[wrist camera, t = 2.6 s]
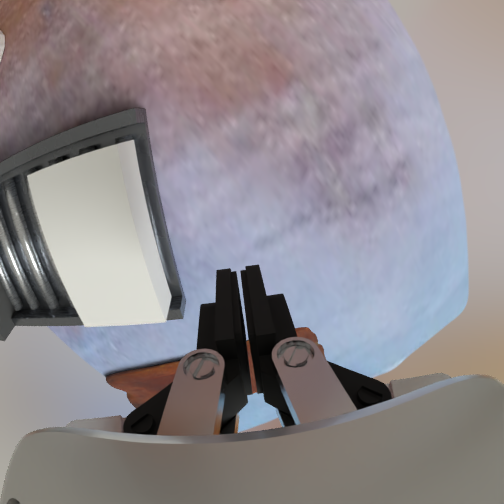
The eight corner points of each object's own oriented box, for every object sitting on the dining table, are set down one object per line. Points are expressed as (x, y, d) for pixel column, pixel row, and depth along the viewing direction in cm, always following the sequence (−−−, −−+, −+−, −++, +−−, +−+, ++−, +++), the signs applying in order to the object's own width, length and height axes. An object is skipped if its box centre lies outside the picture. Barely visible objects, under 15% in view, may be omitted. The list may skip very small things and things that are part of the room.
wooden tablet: (145, 409, 33) (144, 419, 31) (102, 370, 28) (98, 380, 27) (327, 367, 31) (331, 377, 29) (314, 312, 26) (318, 324, 25)
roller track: (-31, 185, 15) (-62, 201, 10) (145, 109, 16) (120, 106, 11) (18, 312, 22) (-1, 340, 18) (185, 300, 23) (180, 341, 19)
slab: (50, 165, 15) (27, 175, 12) (133, 139, 15) (117, 144, 12) (96, 303, 20) (85, 327, 18) (171, 296, 21) (165, 322, 18)
